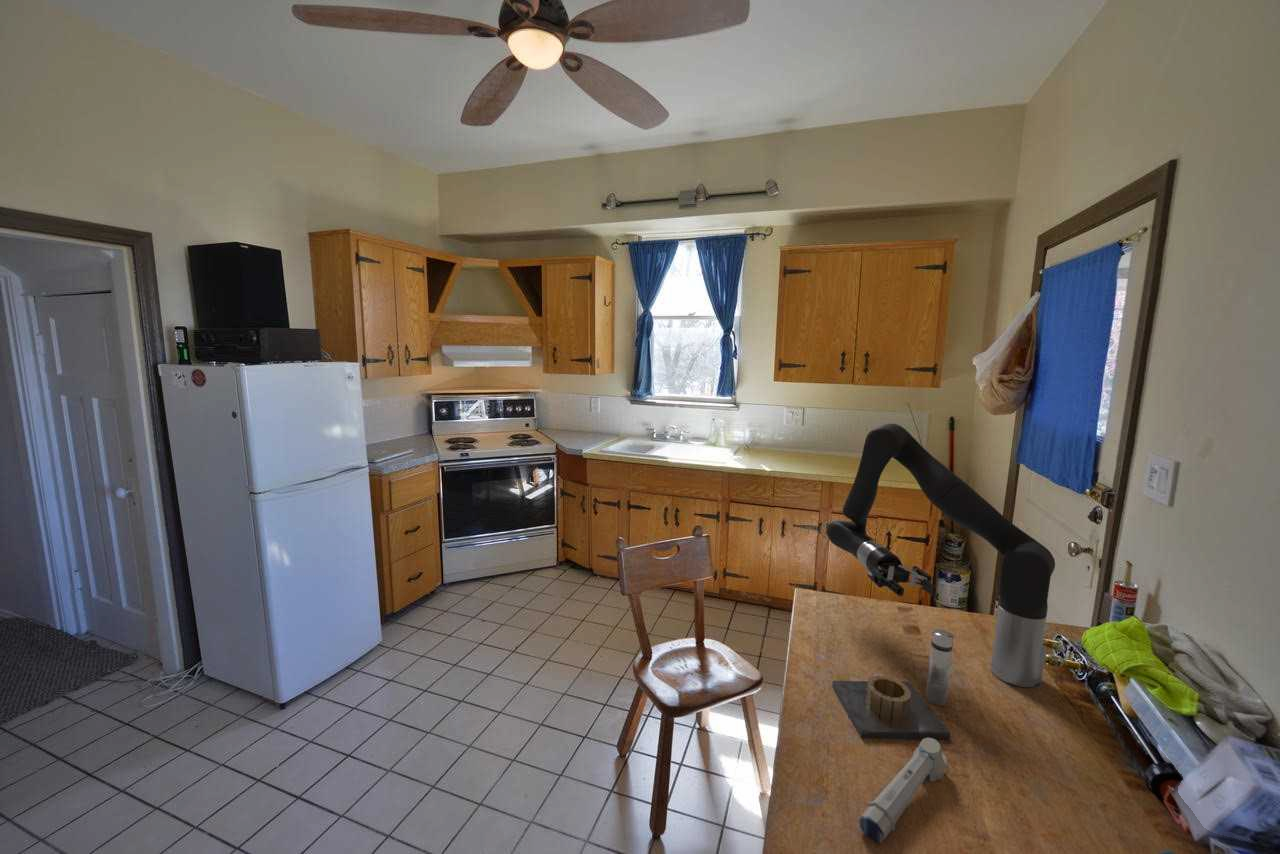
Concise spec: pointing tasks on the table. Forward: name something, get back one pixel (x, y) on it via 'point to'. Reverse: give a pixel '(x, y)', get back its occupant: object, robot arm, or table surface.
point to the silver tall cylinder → (939, 666)
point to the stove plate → (886, 725)
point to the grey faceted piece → (903, 790)
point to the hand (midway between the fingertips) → (918, 592)
